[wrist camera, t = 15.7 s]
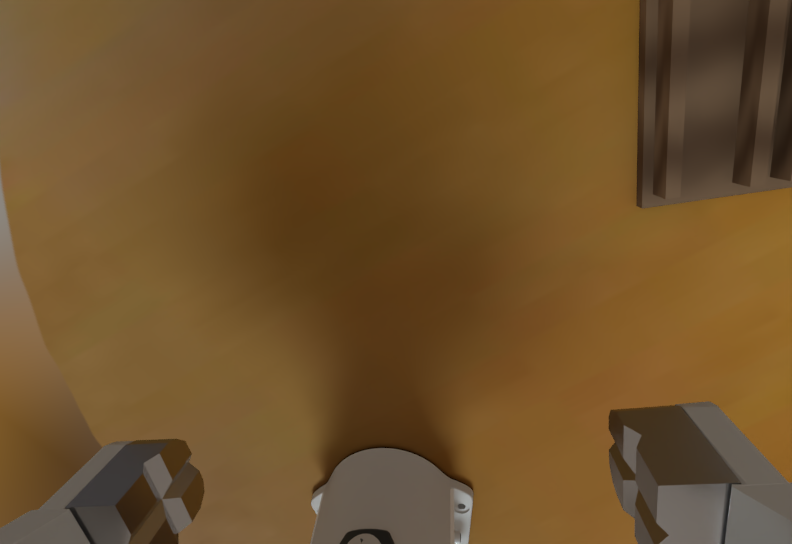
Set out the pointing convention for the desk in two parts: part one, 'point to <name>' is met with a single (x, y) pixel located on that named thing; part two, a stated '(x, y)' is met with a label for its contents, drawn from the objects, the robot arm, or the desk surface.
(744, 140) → the rack
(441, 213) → the desk surface
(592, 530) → the desk surface
